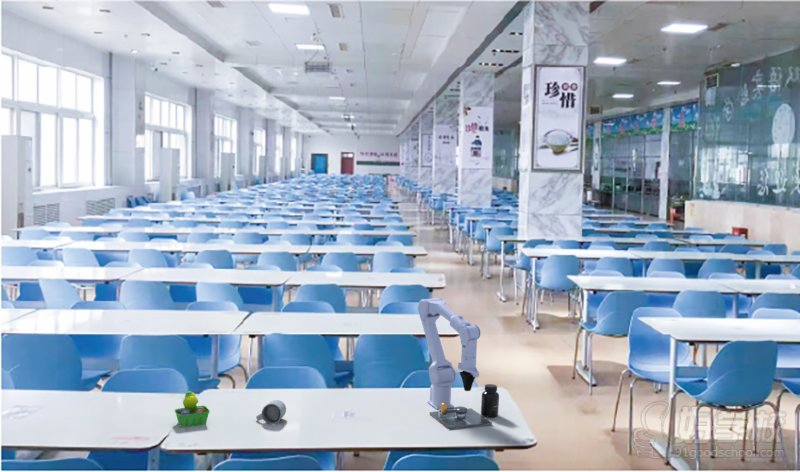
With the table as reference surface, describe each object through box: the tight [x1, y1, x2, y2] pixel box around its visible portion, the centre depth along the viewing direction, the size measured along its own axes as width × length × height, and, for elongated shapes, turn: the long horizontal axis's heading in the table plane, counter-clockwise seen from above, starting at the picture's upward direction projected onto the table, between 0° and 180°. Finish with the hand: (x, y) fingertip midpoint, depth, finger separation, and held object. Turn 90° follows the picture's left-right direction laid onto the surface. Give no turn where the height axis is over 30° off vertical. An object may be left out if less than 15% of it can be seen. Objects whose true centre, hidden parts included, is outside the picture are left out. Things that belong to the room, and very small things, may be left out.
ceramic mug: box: [255, 399, 287, 425], centre depth 291 cm, size 11×8×8 cm
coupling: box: [441, 403, 468, 415], centre depth 298 cm, size 11×5×4 cm, turn 110°
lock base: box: [429, 408, 493, 430], centre depth 299 cm, size 18×18×4 cm
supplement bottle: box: [480, 383, 500, 419], centre depth 305 cm, size 7×7×12 cm
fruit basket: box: [174, 391, 211, 428], centre depth 285 cm, size 11×9×11 cm
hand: (467, 390), depth 303 cm, fingers closed
